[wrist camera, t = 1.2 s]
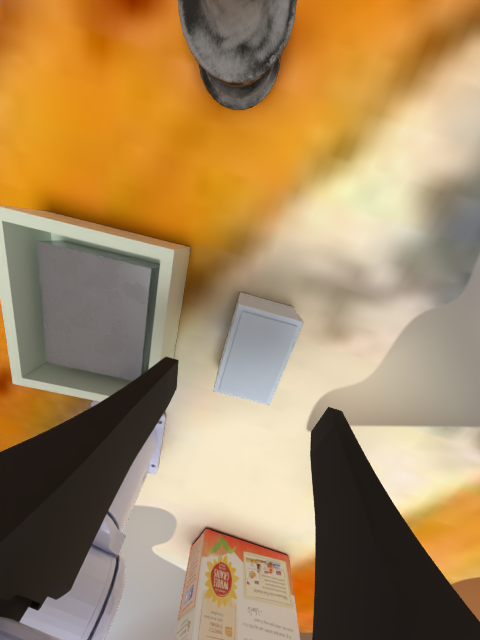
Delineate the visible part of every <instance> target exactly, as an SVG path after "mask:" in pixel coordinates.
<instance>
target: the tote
mask: <svg viewBox="0 0 480 640" xmlns="http://www.w3.org/2000/svg"><path fill="white" fill-rule="evenodd" d="M53 240H65V241H69V242H73V243H77V244H81V245H85V246H89V247H94V248H98V249H102V250H106V251H110V252H114V253H118V254H122V255H126V256H130V257H134V258H138V259H142V260H147V261H151V262H155V263H159V264H160V270H159V279H158V288H157V297H156V306H155V315H154V324H153V333H152V342H151V351H150V360H149V369H150V368H151V367H153V366H154V365H155V364H156V363H158V362H159V361H160V360H162V359H163V358H164V357H166V356H167V357H170V358H173V359H174V353H175V347H176V340H177V334H178V327H179V321H180V314H181V308H182V301H183V295H184V289H185V282H186V276H187V269H188V263H189V256H190V250H191V247H188V246H184V245H180V244H176V243H172V242H168V241H164V240H160V239H156V238H152V237H148V236H144V235H140V234H136V233H132V232H128V231H124V230H120V229H116V228H112V227H108V226H104V225H100V224H96V223H93V222H89V221H85V220H81V219H77V218H73V217H69V216H65V215H61V214H57V213H53V212H49V211H42V210H34V209H26V208H19V207H11V206H3V205H0V299H1V306H2V313H3V320H4V326H5V333H6V340H7V347H8V354H9V361H10V368H11V374H12V381H13V384H16V385H21V386H26V387H31V388H36V389H41V390H45V391H50V392H55V393H60V394H65V395H70V396H74V397H79V398H84V399H89V400H94V401H99V402H101V401H103V400H104V399H106V398H108V397H109V396H111V395H112V394H114V393H115V392H117V391H119V390H120V389H122V388H123V387H125V386H126V385H128V384H129V383H130V382H132V381H131V380H126V379H122V378H117V377H112V376H108V375H103V374H98V373H93V372H89V371H84V370H79V369H75V368H70V367H65V366H61V365H56V364H51V363H47V362H46V354H45V342H44V329H43V317H42V304H41V291H40V279H39V266H38V253H37V241H53ZM149 369H148V370H149Z"/></svg>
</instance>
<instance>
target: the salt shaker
mask: <svg viewBox="0 0 480 640" xmlns="http://www.w3.org/2000/svg"><path fill="white" fill-rule="evenodd" d="M296 2H297V0H178V5H179V16H180V21H181V25H182V30H183V34H184V37H185V39H186V41H187V44H188V46H189V48H190V50H191V53H192V54H193V55H194V57H195V58H196V60H197V61H198V63H199V68H200V72H201V77H202V79H203V82H204V84H205V86H206V89H207V90H208V91H209V93H210V94H211V96H212V97H213V98H214V99H215V100H216V101H217V102H219V103H220V104H221V105H222V106H224V107H227V108H229V109H232V110H244V109H248V108H252V107H253V106H255V105H256V104H258V103H260V102H261V101H262V100H263V99H264V98H265V97H266V96H267V94H268V93H269V92H270V90H271V88H272V86H273V84H274V83H275V81H276V77H277V74H278V70H279V66H280V56H281V54H282V52H283V50H284V48H285V46H286V44H287V42H288V40H289V37H290V34H291V30H292V27H293V23H294V20H295V12H296Z"/></svg>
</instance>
